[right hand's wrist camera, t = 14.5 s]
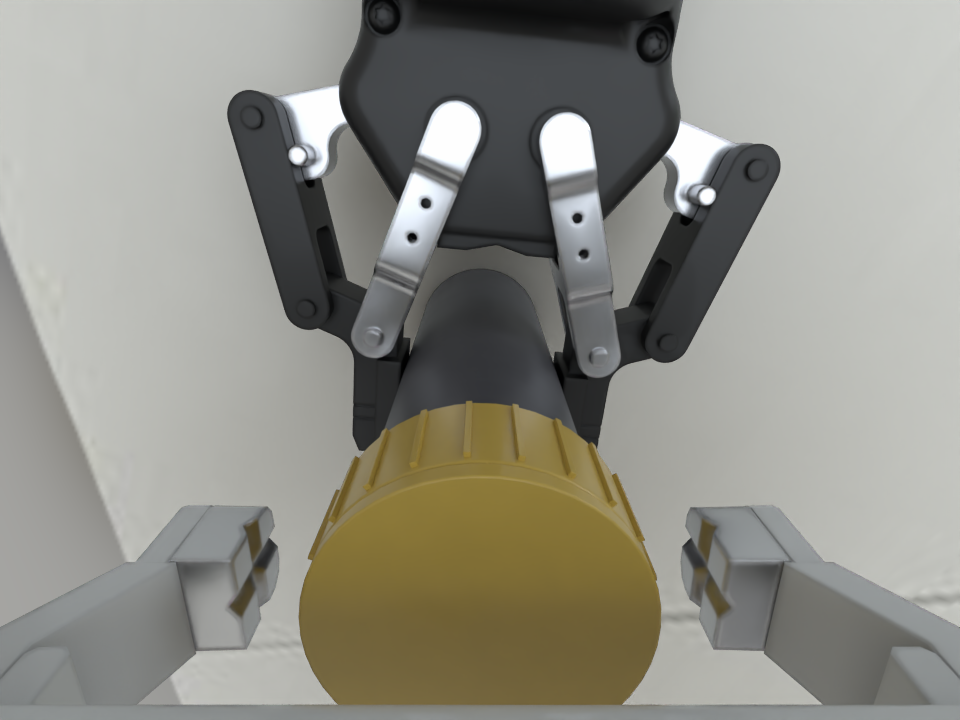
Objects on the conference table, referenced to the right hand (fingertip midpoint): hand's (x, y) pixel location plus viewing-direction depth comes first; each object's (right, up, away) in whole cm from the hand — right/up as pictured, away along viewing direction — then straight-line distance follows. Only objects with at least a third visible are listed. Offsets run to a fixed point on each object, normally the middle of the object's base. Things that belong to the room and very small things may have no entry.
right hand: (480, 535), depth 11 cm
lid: (0, -1, -2) cm, 2 cm away
